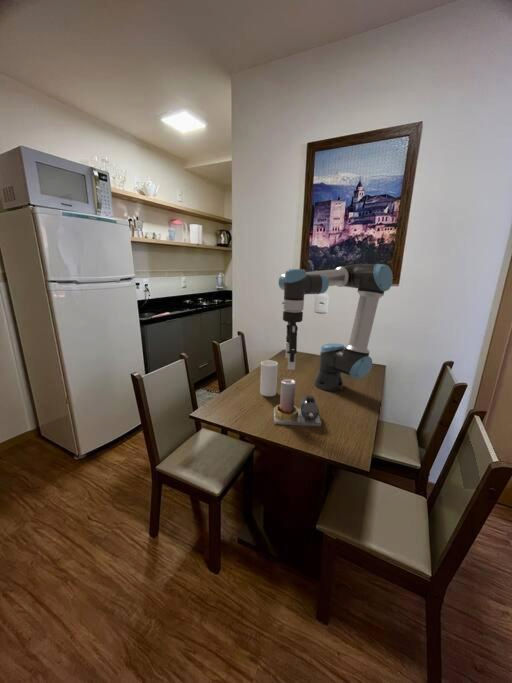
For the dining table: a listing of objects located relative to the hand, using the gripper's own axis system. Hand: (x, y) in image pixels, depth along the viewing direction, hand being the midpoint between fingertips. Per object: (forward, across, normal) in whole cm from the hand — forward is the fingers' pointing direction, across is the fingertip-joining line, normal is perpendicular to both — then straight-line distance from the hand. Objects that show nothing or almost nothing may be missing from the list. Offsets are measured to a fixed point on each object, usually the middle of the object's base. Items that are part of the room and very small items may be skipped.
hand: (289, 363), depth 111 cm
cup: (+25, -23, -8) cm, 35 cm away
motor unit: (+24, 0, +4) cm, 25 cm away
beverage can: (+23, 0, 0) cm, 23 cm away
